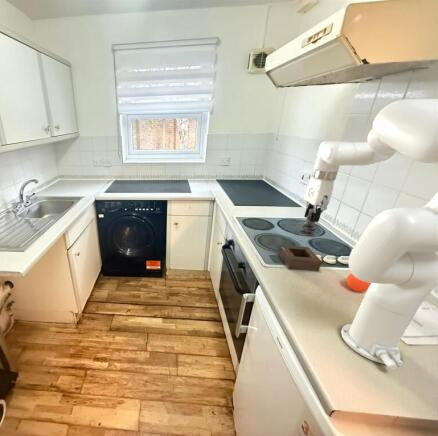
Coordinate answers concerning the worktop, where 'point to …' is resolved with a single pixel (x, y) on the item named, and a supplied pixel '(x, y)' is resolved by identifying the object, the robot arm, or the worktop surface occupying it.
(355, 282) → the clementine
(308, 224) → the grey tiered tall piece
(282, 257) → the socket
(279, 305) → the worktop surface
